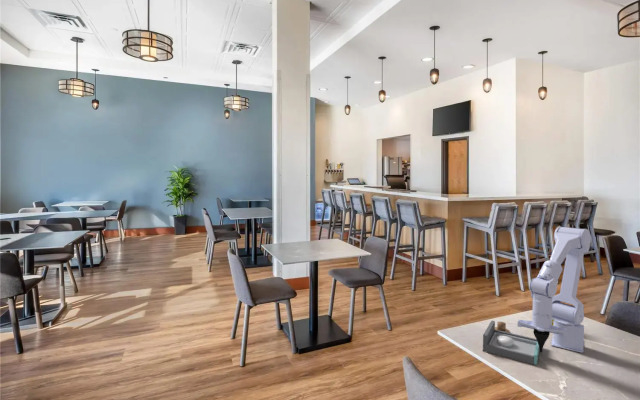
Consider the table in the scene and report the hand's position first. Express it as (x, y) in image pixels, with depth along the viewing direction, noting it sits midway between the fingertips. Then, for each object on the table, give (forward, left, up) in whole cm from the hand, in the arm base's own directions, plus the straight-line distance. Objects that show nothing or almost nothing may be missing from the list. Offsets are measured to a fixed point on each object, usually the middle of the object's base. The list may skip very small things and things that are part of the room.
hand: (540, 350), depth 120 cm
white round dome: (+11, 0, -1) cm, 11 cm away
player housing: (+9, 0, -2) cm, 10 cm away
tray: (+8, 0, -2) cm, 8 cm away
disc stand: (+15, -14, -2) cm, 20 cm away
